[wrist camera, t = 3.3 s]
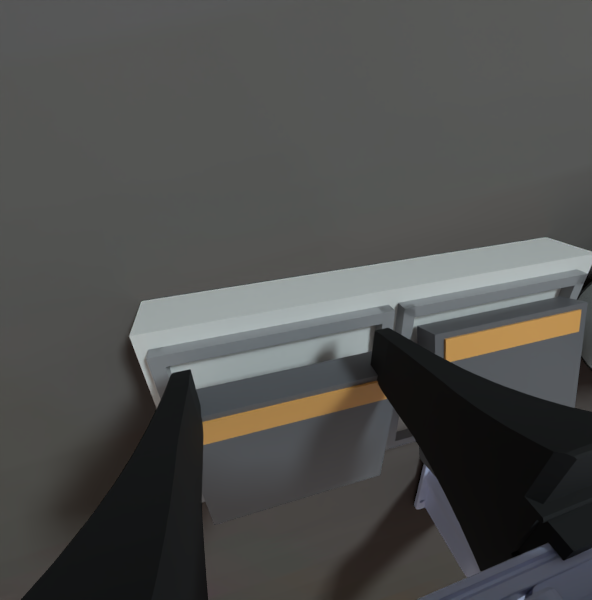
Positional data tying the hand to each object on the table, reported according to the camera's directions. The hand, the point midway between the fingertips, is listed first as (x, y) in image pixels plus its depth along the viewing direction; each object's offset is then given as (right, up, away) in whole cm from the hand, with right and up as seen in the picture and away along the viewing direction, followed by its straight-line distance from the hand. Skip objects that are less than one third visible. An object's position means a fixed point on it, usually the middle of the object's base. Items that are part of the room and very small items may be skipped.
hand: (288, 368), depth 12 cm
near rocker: (0, -4, +3) cm, 5 cm away
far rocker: (+11, -2, +6) cm, 13 cm away
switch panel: (+5, -1, +8) cm, 10 cm away
